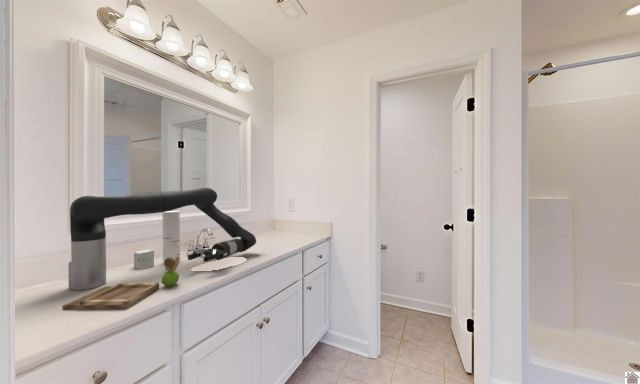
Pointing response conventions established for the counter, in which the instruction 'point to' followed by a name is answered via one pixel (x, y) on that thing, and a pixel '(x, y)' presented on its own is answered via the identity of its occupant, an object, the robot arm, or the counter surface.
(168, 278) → the snail figurine
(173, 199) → the robot arm
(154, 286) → the display base
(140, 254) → the skincare box
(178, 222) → the cylindrical container
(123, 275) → the counter surface
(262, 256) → the counter surface
